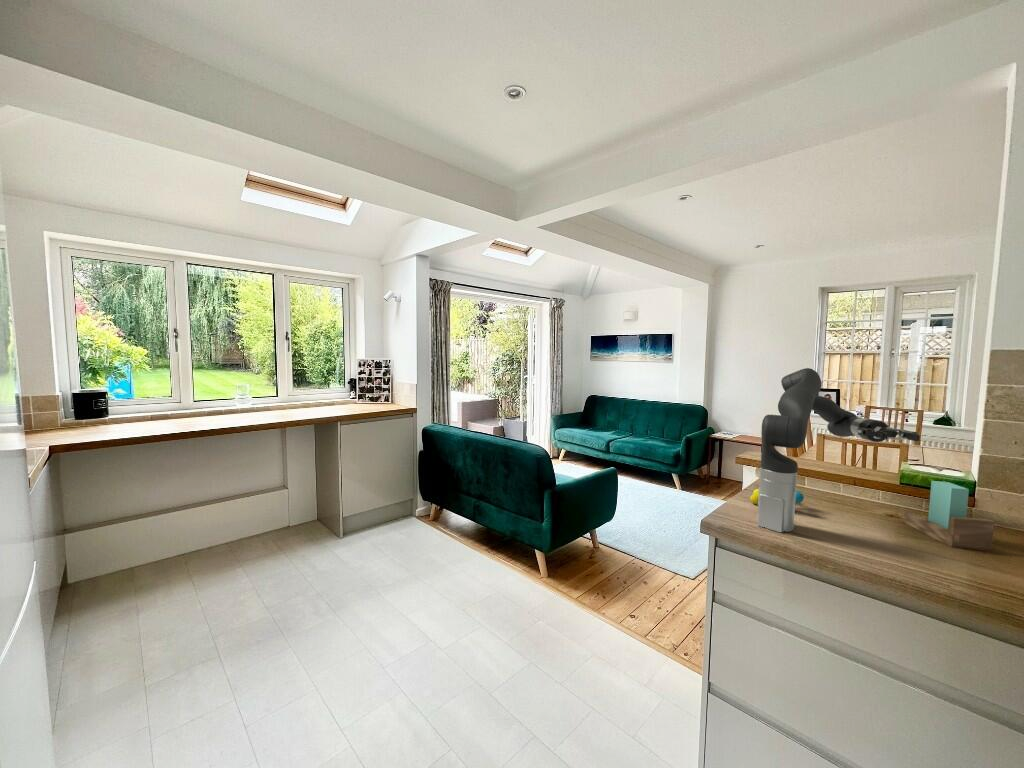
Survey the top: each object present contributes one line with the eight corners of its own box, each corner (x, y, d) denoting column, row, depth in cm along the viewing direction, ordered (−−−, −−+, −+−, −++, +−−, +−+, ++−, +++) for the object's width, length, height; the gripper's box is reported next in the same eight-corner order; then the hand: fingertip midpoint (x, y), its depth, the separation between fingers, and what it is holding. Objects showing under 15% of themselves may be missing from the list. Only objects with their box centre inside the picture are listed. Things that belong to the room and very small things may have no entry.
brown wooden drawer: (991, 550, 109) (994, 521, 109) (951, 547, 111) (954, 518, 110) (935, 524, 127) (937, 498, 126) (901, 521, 129) (903, 496, 128)
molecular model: (758, 518, 137) (808, 506, 131) (745, 491, 138) (794, 477, 132) (753, 504, 151) (798, 492, 145) (741, 480, 152) (786, 467, 146)
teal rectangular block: (964, 538, 114) (968, 489, 113) (947, 537, 115) (951, 488, 114) (943, 528, 121) (947, 481, 120) (927, 527, 122) (931, 480, 121)
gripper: (847, 417, 147) (877, 424, 131) (893, 420, 144) (929, 426, 129) (845, 438, 148) (875, 447, 132) (891, 441, 145) (927, 450, 129)
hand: (902, 437), depth 130 cm, fingers open, 8 cm apart
